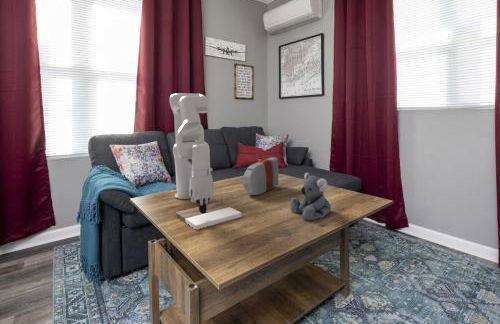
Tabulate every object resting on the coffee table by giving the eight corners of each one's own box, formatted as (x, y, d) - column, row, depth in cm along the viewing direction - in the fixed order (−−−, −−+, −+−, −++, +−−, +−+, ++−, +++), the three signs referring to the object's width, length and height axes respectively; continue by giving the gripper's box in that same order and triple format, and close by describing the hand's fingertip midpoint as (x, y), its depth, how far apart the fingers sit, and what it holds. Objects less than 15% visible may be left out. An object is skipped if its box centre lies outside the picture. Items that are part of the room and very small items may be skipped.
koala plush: (287, 210, 144) (288, 172, 141) (318, 205, 150) (319, 169, 147) (306, 222, 128) (307, 179, 125) (339, 216, 134) (341, 176, 131)
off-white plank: (185, 222, 129) (185, 218, 129) (229, 210, 144) (229, 207, 144) (195, 229, 122) (195, 225, 121) (241, 216, 136) (241, 212, 136)
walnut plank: (175, 216, 138) (175, 212, 137) (218, 205, 152) (218, 202, 152) (184, 222, 130) (184, 218, 129) (229, 210, 144) (229, 206, 144)
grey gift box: (270, 156, 186) (240, 167, 163) (279, 156, 182) (249, 168, 159) (272, 184, 190) (242, 199, 168) (280, 186, 186) (251, 201, 164)
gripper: (212, 168, 132) (213, 206, 135) (181, 173, 123) (183, 214, 126) (220, 171, 126) (221, 211, 130) (189, 176, 117) (191, 219, 121)
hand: (202, 212), depth 128 cm, fingers closed
